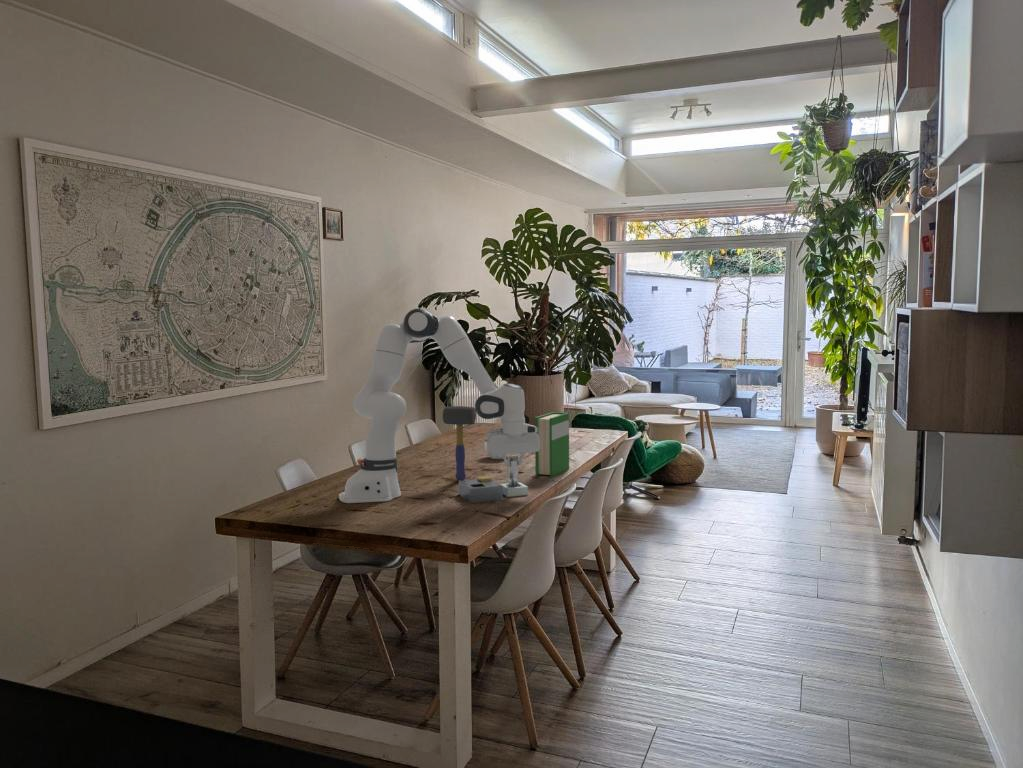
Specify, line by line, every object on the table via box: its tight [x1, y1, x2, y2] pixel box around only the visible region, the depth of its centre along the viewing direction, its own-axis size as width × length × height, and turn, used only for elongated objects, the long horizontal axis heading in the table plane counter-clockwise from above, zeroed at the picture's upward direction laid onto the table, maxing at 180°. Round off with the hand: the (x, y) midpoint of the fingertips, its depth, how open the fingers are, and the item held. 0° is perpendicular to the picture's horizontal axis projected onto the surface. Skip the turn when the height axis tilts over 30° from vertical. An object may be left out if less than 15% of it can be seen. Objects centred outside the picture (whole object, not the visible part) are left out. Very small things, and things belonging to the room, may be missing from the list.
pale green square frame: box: [499, 481, 529, 498], centre depth 285 cm, size 8×8×3 cm
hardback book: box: [534, 411, 570, 478], centre depth 320 cm, size 18×7×24 cm, turn 153°
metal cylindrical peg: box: [508, 454, 519, 487], centre depth 284 cm, size 4×4×12 cm
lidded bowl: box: [483, 437, 509, 460], centre depth 353 cm, size 13×13×11 cm
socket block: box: [458, 478, 504, 504], centre depth 280 cm, size 12×14×5 cm
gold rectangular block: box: [476, 475, 493, 482], centre depth 285 cm, size 4×4×6 cm
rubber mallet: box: [442, 405, 477, 482], centre depth 305 cm, size 12×8×30 cm, turn 77°
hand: (513, 465), depth 284 cm, fingers closed on metal cylindrical peg, 3 cm apart
